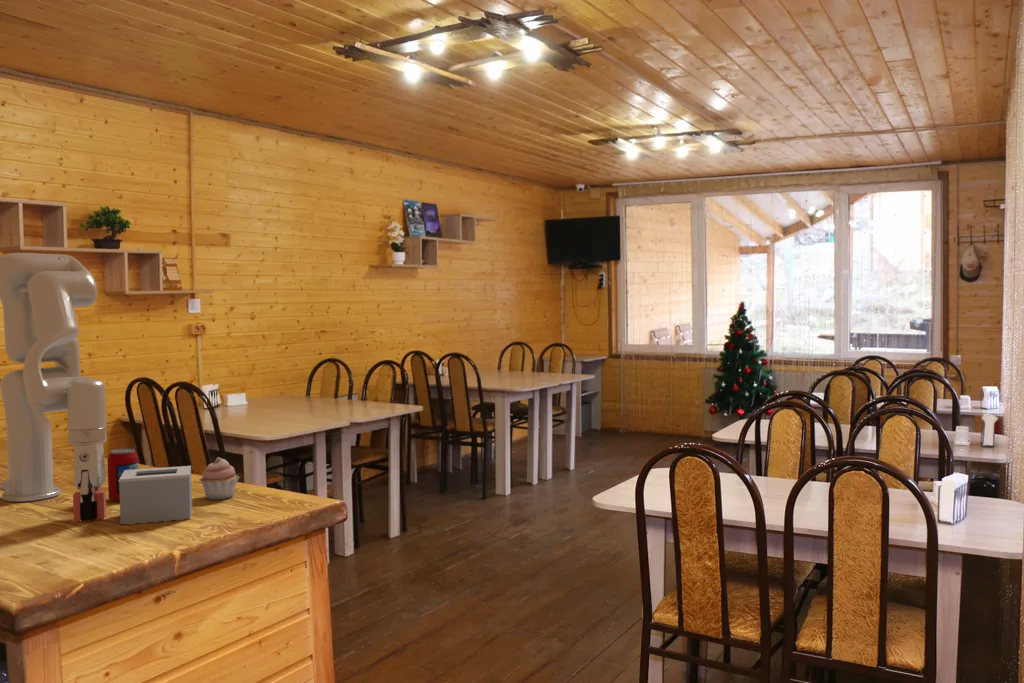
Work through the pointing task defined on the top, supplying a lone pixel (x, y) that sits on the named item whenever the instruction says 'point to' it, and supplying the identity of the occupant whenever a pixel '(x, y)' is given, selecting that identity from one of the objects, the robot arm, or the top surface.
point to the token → (99, 497)
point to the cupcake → (219, 480)
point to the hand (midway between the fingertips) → (90, 516)
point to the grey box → (155, 494)
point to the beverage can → (119, 469)
